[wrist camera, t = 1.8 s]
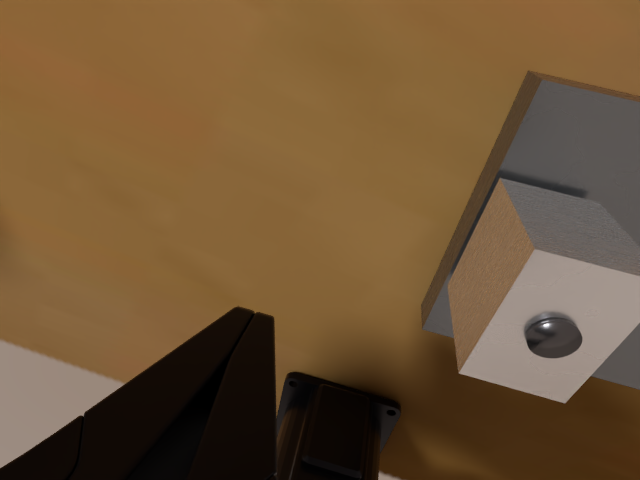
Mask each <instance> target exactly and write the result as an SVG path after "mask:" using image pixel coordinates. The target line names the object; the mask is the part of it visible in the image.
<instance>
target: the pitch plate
mask: <svg viewBox="0 0 640 480" xmlns="http://www.w3.org/2000/svg"><path fill="white" fill-rule="evenodd" d="M500 178H503V179H507V180H511V181H515V182H519V183H523V184H527V185H532V186H536V187H540V188H544V189H548V190H552V191H556V192H560V193H564V194H568V195H572V196H576V197H580V198H584V199H588V200H592V201H596V202H599V203H600V204H601V205H602V206H603V207H604V208H605V209H606V210H607V212H608V213H609V214H610V215H611V216H612V217H613V218H614V219H615V220H616V221H617V223H618V224H619V225H620V226H621V227H622V228H623V229H624V230H625V231H626V232H627V234H628V235H629V236H630V237H631V238H632V239H633V240H634V241H635V242H636V243H637V245H638V246H639V247H640V96H636V95H631V94H627V93H623V92H618V91H614V90H610V89H605V88H601V87H597V86H592V85H588V84H584V83H579V82H575V81H571V80H567V79H562V78H558V77H554V76H549V75H545V74H541V73H536V72H532V71H528V73H527V75H526V77H525V79H524V81H523V83H522V86H521V88H520V90H519V92H518V94H517V97H516V99H515V101H514V103H513V105H512V108H511V110H510V112H509V114H508V116H507V119H506V121H505V123H504V125H503V127H502V130H501V132H500V134H499V136H498V138H497V140H496V143H495V145H494V147H493V149H492V151H491V154H490V156H489V158H488V160H487V162H486V165H485V167H484V169H483V171H482V173H481V176H480V178H479V180H478V182H477V184H476V187H475V189H474V191H473V193H472V195H471V197H470V200H469V202H468V204H467V206H466V208H465V211H464V213H463V215H462V217H461V219H460V222H459V224H458V226H457V228H456V230H455V233H454V235H453V237H452V239H451V241H450V244H449V246H448V248H447V250H446V252H445V254H444V257H443V259H442V261H441V263H440V265H439V268H438V270H437V272H436V274H435V276H434V279H433V281H432V283H431V285H430V287H429V290H428V292H427V294H426V296H425V298H424V301H423V303H422V305H421V311H422V329H423V330H426V331H430V332H434V333H437V334H441V335H444V336H448V337H452V338H454V333H453V325H452V318H451V310H450V302H449V294H448V286H447V285H448V283H449V281H450V279H451V277H452V275H453V273H454V271H455V269H456V267H457V264H458V262H459V260H460V258H461V256H462V254H463V252H464V250H465V248H466V246H467V244H468V242H469V240H470V238H471V236H472V234H473V232H474V230H475V228H476V226H477V224H478V222H479V219H480V217H481V215H482V213H483V211H484V209H485V207H486V205H487V203H488V201H489V199H490V197H491V195H492V193H493V191H494V189H495V187H496V185H497V183H498V181H499V179H500ZM591 376H592V377H596V378H599V379H603V380H607V381H610V382H614V383H617V384H621V385H625V386H628V387H632V388H635V389H639V390H640V323H639V324H638V325H637V326H636V327H635V329H634V330H633V331H632V332H631V333H630V334H629V335H628V336H627V337H626V338H625V339H624V340H623V341H622V343H621V344H620V345H619V346H618V347H617V348H616V349H615V350H614V351H613V352H612V353H611V354H610V356H609V357H608V358H607V359H606V360H605V361H604V362H603V363H602V364H601V365H600V366H599V367H598V368H597V370H596V371H595V372H594V373H593V374H592V375H591Z"/></svg>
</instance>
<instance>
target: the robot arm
mask: <svg viewBox="0 0 640 480" xmlns="http://www.w3.org/2000/svg"><path fill="white" fill-rule="evenodd" d="M400 414H401V406H400V404H399V403H397V402H395V401H392V400H389V399H385V398H382V397H378V396H375V395H372V394H368V393H365V392H361V391H358V390H354V389H351V388H347V387H344V386H341V385H337V384H334V383H330V382H327V381H323V380H320V379H316V378H313V377H310V376H306V375H303V374H299V373H295V372H290V373H288V374H287V376H286V379H285V382H284V387H283V391H282V396H281V401H280V405H279V410H278V415H277V419H276V375H275V327H274V317H273V316H271V315H267V314H264V313H260V312H256V313H255V312H254V311H253V310H250V309H246V308H243V307H235V308H233V309H232V310H230V311H229V312H227V313H226V314H225V315H223V316H222V317H220V318H219V319H217V320H216V321H215V322H213V323H212V324H210V325H209V326H207V327H206V328H205V329H203V330H202V331H200V332H199V333H197V334H196V335H195V336H193V337H192V338H190V339H189V340H187V341H186V342H185V343H183V344H182V345H180V346H179V347H177V348H176V349H175V350H173V351H172V352H170V353H169V354H167V355H166V356H165V357H163V358H162V359H160V360H159V361H157V362H156V363H155V364H153V365H152V366H150V367H149V368H147V369H146V370H145V371H143V372H142V373H140V374H139V375H137V376H136V377H135V378H133V379H132V380H130V381H129V382H127V383H126V384H125V385H123V386H122V387H120V388H119V389H117V390H116V391H115V392H113V393H112V394H110V395H109V396H108V397H106V398H105V399H103V400H102V401H100V402H99V403H97V404H96V405H95V406H93V407H92V408H91V409H89V410H88V411H86V412H85V413H84V417H83V416H78V417H77V418H76V419H74V420H73V421H71V422H70V423H69V424H67V425H66V426H64V427H63V428H61V429H60V430H59V431H57V432H56V433H54V434H53V435H51V436H50V437H48V438H47V439H45V440H44V441H42V442H41V443H39V444H38V445H36V446H35V447H33V448H32V449H30V450H29V451H27V452H26V453H24V454H23V455H21V456H20V457H18V458H16V459H15V460H13V461H11V462H10V463H8V464H7V465H5V466H3V467H2V468H0V480H378V473H379V458H380V453H381V451H382V449H383V447H384V445H385V443H386V441H387V440H388V438H389V436H390V434H391V432H392V430H393V428H394V426H395V425H396V423H397V421H398V419H399V417H400Z"/></svg>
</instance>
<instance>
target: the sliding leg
mask: <svg viewBox="0 0 640 480" xmlns="http://www.w3.org/2000/svg"><path fill="white" fill-rule="evenodd" d="M447 286H448V294H449V302H450V310H451V318H452V325H453V333H454V341H455V349H456V357H457V365H458V372H459V374H463V375H466V376H470V377H473V378H477V379H480V380H484V381H488V382H491V383H495V384H498V385H502V386H505V387H509V388H512V389H516V390H519V391H523V392H526V393H530V394H534V395H537V396H541V397H544V398H548V399H551V400H555V401H558V402H562V403H566V402H567V401H568V400H569V399H570V398H571V397H572V395H573V394H574V393H575V392H576V391H577V390H578V389H579V388H580V387H581V386H582V385H583V384H584V382H585V381H586V380H587V379H588V378H589V377H590V376H591V375H592V374H593V373H594V372H595V371H596V370H597V368H598V367H599V366H600V365H601V364H602V363H603V362H604V361H605V360H606V359H607V358H608V357H609V356H610V354H611V353H612V352H613V351H614V350H615V349H616V348H617V347H618V346H619V345H620V344H621V343H622V341H623V340H624V339H625V338H626V337H627V336H628V335H629V334H630V333H631V332H632V331H633V330H634V329H635V327H636V326H637V325H638V324H639V323H640V247H639V246H638V245H637V243H636V242H635V241H634V240H633V239H632V238H631V237H630V236H629V235H628V234H627V232H626V231H625V230H624V229H623V228H622V227H621V226H620V225H619V224H618V223H617V221H616V220H615V219H614V218H613V217H612V216H611V215H610V214H609V213H608V212H607V210H606V209H605V208H604V207H603V206H602V205H601V204H600V203H599V202H596V201H592V200H588V199H584V198H580V197H576V196H572V195H568V194H564V193H560V192H556V191H552V190H548V189H544V188H540V187H536V186H532V185H527V184H523V183H519V182H515V181H511V180H507V179H503V178H500V179H499V181H498V183H497V185H496V187H495V189H494V191H493V193H492V195H491V197H490V199H489V201H488V203H487V205H486V207H485V209H484V211H483V213H482V215H481V217H480V219H479V222H478V224H477V226H476V228H475V230H474V232H473V234H472V236H471V238H470V240H469V242H468V244H467V246H466V248H465V250H464V252H463V254H462V256H461V258H460V260H459V262H458V264H457V267H456V269H455V271H454V273H453V275H452V277H451V279H450V281H449V283H448V285H447Z"/></svg>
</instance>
